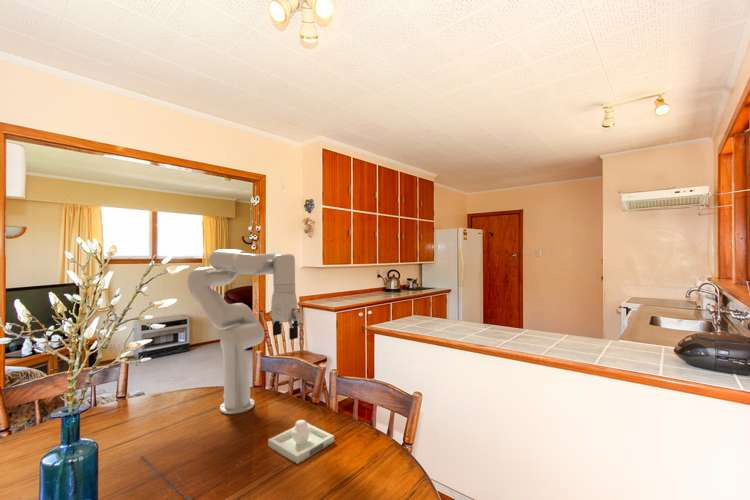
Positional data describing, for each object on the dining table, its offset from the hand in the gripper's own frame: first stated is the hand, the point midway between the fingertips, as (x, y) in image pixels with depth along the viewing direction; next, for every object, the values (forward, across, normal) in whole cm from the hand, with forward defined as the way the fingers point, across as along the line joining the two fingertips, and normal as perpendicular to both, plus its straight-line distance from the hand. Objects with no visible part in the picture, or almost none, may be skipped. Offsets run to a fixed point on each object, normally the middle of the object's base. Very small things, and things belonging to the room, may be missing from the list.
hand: (285, 336), depth 126 cm
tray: (+30, +16, -6) cm, 35 cm away
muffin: (+30, +16, -6) cm, 34 cm away
